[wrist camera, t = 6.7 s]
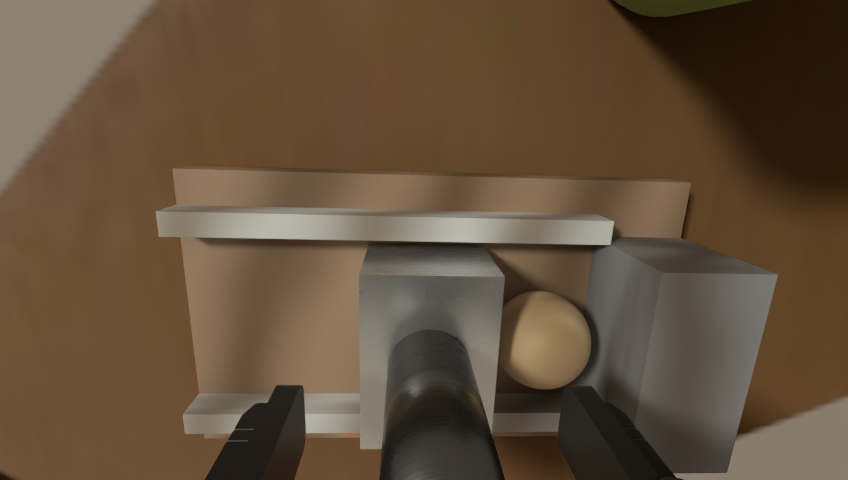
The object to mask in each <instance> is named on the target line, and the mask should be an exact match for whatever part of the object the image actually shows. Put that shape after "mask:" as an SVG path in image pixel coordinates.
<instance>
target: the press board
mask: <svg viewBox="0 0 848 480" xmlns="http://www.w3.org/2000/svg"><path fill="white" fill-rule="evenodd" d="M172 169H173V178H174V186H175V194H176V203H177V205H174V206H171V207H168V208H165V209H162V210H158V211H156V217H157V225H158V232H159V237H181V245H182V253H183V262H184V270H185V278H186V287H187V295H188V304H189V312H190V320H191V329H192V337H193V346H194V354H195V362H196V371H197V379H198V388H199V394H198V396H197V397H196V398H195V399H194V401H193V402H192V403H191V404H190V406H189V407H188V408H187V410H186V411H185V412H184V413H183V421H184V429H185V434H204V438H229V437H230V435H231V433H232V432H233V431H234V428H235V427H236V425H237V423H238V421H239V420H240V418H241V416H242V415H243V414H244V413H245V412H246V411H247V410H248V409H250V408H251V407H252V406H253V405H254V404H256V403H267V402H268V400H269V398H270V397H271V395H272V393H273V391H274V389H275V387H276V386H277V385H302V386H303V388H304V402H305V424H306V436H305V438H343V437H360V348H359V273H360V270H361V267H362V264H363V261H364V257H365V254H366V251H367V248H368V245H369V244H385V245H440V246H483V247H484V248H485V249H486V251H487V252H488V254H489V255H490V256H491V258H492V259H493V261H494V262H495V264H496V265H497V266H498V268H499V269H500V271H501V272H502V273H503V275H504V276H505V283H504V294H503V306H504V305H505V304H506V303H507V302H509V301H510V300H511V299H513V298H514V297H516V296H518V295H521V294H523V293H527V292H531V291H545V292H551V293H554V294H557V295H559V296H562V297H563V298H565V299H567V300H568V301H570V302H571V303H572V304H574V305H575V306H576V307H577V308H578V310H579V311H580V312H581V313H582V315H583V316H584V318H585V320H586V322H587V324H588V327H589V330H590V334H591V353H590V357H589V360H588V362H587V364H586V366H585V368H584V369H583V371H582V372H581V373H580V374H579V376H578V377H576V378H575V379H574V380H573V381H571V382H570V383H568V384H566V385H564V386H562V387H558V388H554V389H536V388H531V387H528V386H525V385H523V384H521V383H519V382H518V381H516V380H515V379H513V378H512V377H511V376H510V375H508V374H507V372H506V371H505V370H504V369H503V368H502V366H501V365H500V363H499V362H498V365H497V377H496V389H495V400H494V412H493V424H492V436H558V427H559V419H560V412H561V404H562V396H563V390H564V388H565V387H566V386H592V387H593V388H594V390H595V391H596V392H597V394H598V395H599V396H600V398H601V399H602V400H603V402H604V403H611V404H613V405H614V406H615V407H617V408H618V409H620V410H621V411H622V412H624V413H625V414H626V415H627V416H628V417H629V419H630V420H631V421H632V422H633V424H634V425H635V426H636V429H637V430H639V431H640V433H641V434H642V435H643V436H644V438H645V441H648V443H649V444H650V445H651V446H652V448H653V449H654V450H655V452H656V453H657V454H658V455H659V457H660V458H661V459H662V460H663V462H664V463H665V464H666V465H667V467H668V468H669V469H670V470H671V472H672V473H726V472H727V470H728V466H729V462H730V458H731V455H732V451H733V447H734V443H735V439H736V435H737V431H738V427H739V424H740V420H741V416H742V412H743V408H744V404H745V400H746V397H747V393H748V389H749V385H750V381H751V377H752V373H753V369H754V366H755V362H756V358H757V354H758V350H759V346H760V342H761V339H762V335H763V331H764V327H765V323H766V319H767V315H768V312H769V308H770V304H771V300H772V296H773V292H774V288H775V284H776V281H777V277H778V274H775V273H772V272H770V271H767V270H764V269H762V268H759V267H756V266H754V265H751V264H748V263H746V262H743V261H740V260H738V259H735V258H732V257H730V256H727V255H725V254H722V253H719V252H717V251H714V250H711V249H709V248H706V247H703V246H701V245H698V244H695V243H693V242H690V241H687V240H685V239H682V238H681V234H682V228H683V223H684V218H685V213H686V208H687V202H688V197H689V192H690V187H691V182H685V181H679V180H673V179H652V178H616V177H580V176H544V175H508V174H471V173H435V172H399V171H363V170H327V169H290V168H254V167H218V166H186V167H179V168H172ZM503 306H502V308H503Z"/></svg>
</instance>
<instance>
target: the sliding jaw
mask: <svg viewBox="0 0 848 480" xmlns="http://www.w3.org/2000/svg"><path fill="white" fill-rule="evenodd" d="M504 283H505V276H504V275H503V273H502V272H501V271H500V269H499V268H498V266H497V265H496V264H495V262H494V261H493V259H492V258H491V256H490V255H489V254H488V252H487V251H486V249H485V248H484V247H483V246H440V245H385V244H369V245H368V248H367V251H366V254H365V257H364V261H363V264H362V267H361V270H360V273H359V348H360V449H382V453H381V467H380V480H505V478H504V475H503V471H502V468H501V464H500V461H499V457H498V454H497V451H496V447H495V444H494V440H493V437H492V424H493V412H494V400H495V389H496V377H497V365H498V353H499V341H500V330H501V318H502V306H503V294H504Z"/></svg>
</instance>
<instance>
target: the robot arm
mask: <svg viewBox="0 0 848 480" xmlns="http://www.w3.org/2000/svg"><path fill="white" fill-rule="evenodd" d="M305 436H306V424H305V402H304V388H303V386H302V385H277V386H276V387H275V389H274V391H273V393H272V395H271V397H270V398H269V400H268V402H267V403H256V404H254V405H253V406H252V407H251V408H250V409H248V410H247V411H246V412H245V413H244V414H243V415H242V416H241V418H240V420H239V421H238V423H237V425H236V427H235V428H234V431H233V432H232V433H231V435H230V437H229V439H228V442H227V443H226V444H225V446H224V447H223V449H222V451H221V452H220V454H219V456H218V458H217V459H216V461H215V463H214V465H213V466H212V468H211V470H210V472H209V473H208V475H207V477H206V478H205V480H294V478H295V475H296V472H297V469H298V466H299V463H300V460H301V456H302V453H303V449H304V444H305ZM558 436H559V443H560V447H561V450H562V452H563V454H564V456H565V458H566V460H567V462H568V464H569V466H570V468H571V470H572V472H573V474H574V476H575V478H576V480H683V479H679V478H676V477H675V475H674V474H673V473H672V472H671V470H670V469H669V468H668V467H667V465H666V464H665V463H664V462H663V460H662V459H661V458H660V457H659V455H658V454H657V453H656V452H655V450H654V449H653V448H652V446H651V445H650V444H649V443H648V441H645V438H644V436H643V435H642V434H641V433H640V431H639V430H637V429H636V426H635V425H634V424H633V422H632V421H631V420H630V419H629V417H628V416H627V415H626V414H625V413H624V412H622V411H621V410H620V409H618V408H617V407H615V406H614V405H613V404H611V403H604V402H603V400H602V399H601V398H600V396H599V395H598V394H597V392H596V391H595V390H594V388H593V387H592V386H566V387H565V388H564V390H563V396H562V404H561V412H560V419H559V427H558Z"/></svg>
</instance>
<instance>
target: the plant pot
mask: <svg viewBox="0 0 848 480" xmlns="http://www.w3.org/2000/svg"><path fill="white" fill-rule="evenodd" d="M614 1H615V2H617V3H618V4H619V5H621V6H623V7H625V8H627V9H629V10H631V11H633V12H635V13H637V14H641V15H644V16H650V17H668V16H675V15H681V14H686V13H691V12H696V11H702V10H707V9H712V8H717V7H722V6H726V5H731V4H736V3H741V2H747V1H752V0H614Z"/></svg>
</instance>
